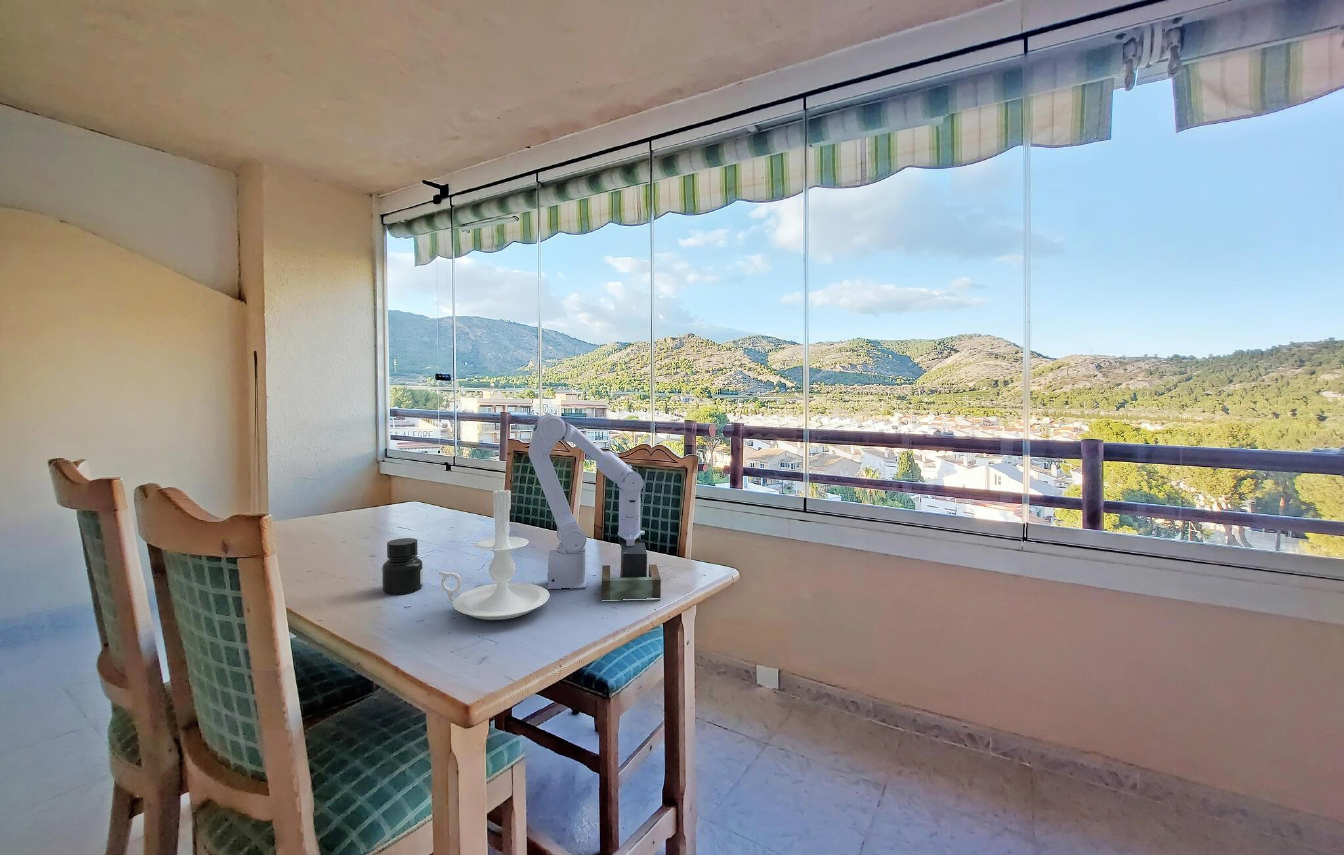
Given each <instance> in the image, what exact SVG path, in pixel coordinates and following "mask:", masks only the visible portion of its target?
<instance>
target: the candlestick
mask: <svg viewBox="0 0 1344 855" xmlns="http://www.w3.org/2000/svg"><path fill="white" fill-rule="evenodd" d="M511 496H512V493H511V490H510V489H505V490H502V489H501V487H499V490H495V491H492V500H493V501H492V502H493V503H492V508H493V518H492V519H493V520H494V537H490V538H489V537H488V538H485V539H481V540H479V541H477V542H475V544H474V546H475V547H476V549H477V548H478V549H480V550H485V551H491V552H493V554H494V555H493V559H492V560H491V562H490V564H489V567H488V573H489V575H490V578H491V579H492V581H494V583H490V584H485V585H481V586H478V587H475V588H470V589H468V590H467V591H466V590H465V591H464V592H462V593H461V594H459V595H457V596H456V597H454V594H455V593H457V592H459V591H460V589H461V588H462V586H463V580H462V578H461V576H460V575H459V573H457V572H447V571H444V570H443V571H442V570H440V571H439V572H438V574H440V575H441V576H442V578H441V582H440V584H441V587H442V589H443V591H445V593H446V594H447V596H448V600H449V601H451V602H452V606H453V608H454V609H455V610H456V611H457V612H459V613H462V614H464V615H468V616H470V617H473V618H474V619H475V618H476V619H480V620H488V621H498V620H499V621H500V620H509V619H514V618H517V617H521V616H523V615H526V614H528V613H530V612H532V611H534V610H536V609H537V608H539V607H541V606H543V605H544V604H546V603H547V601H549V599H550V592H549V591H548V590H547V589H546V588H544V587H543V586H540V585H538V584H534V583H527V582H510V581H511V580H512V578H513V577H514V575H515V572H516V570H517V569H516V568H517V567H516V563H515V561H514V560H513V558H512V556H511V553H512V551H513V550H515V549H520V548H522V547H525V546H527V545H528V544H529V542H530V541H529V540H528V539H527V538H525V537H520V536H510V532H511V530H510V510H511V507H512V506H511V505H512V503H511V502H512V500H511ZM449 577H453V578H455V579H456V581H457V587H455V589H452V588H449V587H448V586H447V585H446V580H447V578H449Z"/></svg>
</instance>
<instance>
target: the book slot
mask: <svg viewBox="0 0 1344 855" xmlns="http://www.w3.org/2000/svg"><path fill="white" fill-rule="evenodd" d="M601 566H602V568H601V601H602V600H623V599H647V598H661V595H662V594H661V591H662V590H661V589H662V588H661V587H662V586H661V585H662V584H661V582H662V579H661V576H660V570H659V567H658V565H657V564H648V576H647V577H630V578H620V577H611V565H609V564H608V565H607V564H606V565H601Z"/></svg>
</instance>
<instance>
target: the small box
mask: <svg viewBox="0 0 1344 855" xmlns="http://www.w3.org/2000/svg"><path fill="white" fill-rule="evenodd" d="M626 544H627V542H622V543H621V546H620V576H619V578H630V577H648V552H647V548H646V544H645V542H640V543H635V545H634V546H627V545H626Z"/></svg>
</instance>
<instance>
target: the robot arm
mask: <svg viewBox="0 0 1344 855" xmlns="http://www.w3.org/2000/svg"><path fill="white" fill-rule="evenodd" d="M560 440H561V441H563V442H568V443H571V444H573V445H574V446H575V447H578V448H579V449H580V450H581V451H582V452H584V453H585V454H587V455H588V456H589V457H590V458H591V459H593V460H595V467H596V469H597V470H598V471H600V473H602V474H603V475H604V476H606V478H608V480H610V481H612V482H613V483H615V484H616V485H617V487H618V488H619V492H618V493H619V496H618V497H619V498H618V531H617V535H618V536H619V537H620V538H618V544H619V546H620V547H621V543H622V542H627V544H626V545H627V546H634V545H635V543H641V538H640V536H644V535H645V530H641V499H642V498H641V491H642V490H643V487H644V485H645V482H644V481H643V478H642V475H640V473H638V472H636V471H634V470H633V469H632V468H633V466H632V465H631V464H627V463H625V462H624V461H623V460H622V459H621V458H619V456H620V454H618V453H617V452H616V451H614V452H612V450H607V451H604V450H602V449H601V448H600V447H599V446H597V444H595V443H594V442H593V441H592V440H591V439H589V437H587V435H585V434H584V433H583V432H582V431H581V430H579V428H576V427H575V426H574V425H572V424H571V423H569V422H567V421H564V419H563V418H562V417H560V416H558V415H554V414H550V413H549V414H548V413H547V414H543V415H541V416H540V418H538V419H537V421H536V423H535V424H534V425H533V427H532V434H531V439H530V443H529V447H528V452H527V453H528V457H529V460H530V462H531V464H532V467H533V469H534V471H535V474H536V477H537V479H538V482H539V484H540V486H541V489H542V491H543V494H544V496H545V498H546V499H545V500H546V501H547V503H548V506H549V508H550V511H551V513H552V516H553V518H554V519H553V520H554V521H555V524H556V537H557V538H558V541H559V542H560V543H559V544H558V546H556V549H552V550H551V549H550V550H549V551H548V558H547V560H548V561H547V589H548V590H552V589H553V590H558V589H561V588H570V589H586V588H587V584H588V577H587V575H586V547H585V546H586V544H587V535H586V532H585V531H584V530H583V529H582V528H581V527H580V525H579V524H578V522H577V520H576V519H575V516H574V515H573V512H572V510H571V507H570V505H569V502H568V500H567V497H566V495H565V492H564V490H563V487H562V485H561V483H560V480H559V477H558V475H557V473H556V470H555V467H554V465H553V462H552V460H551V457H550V455H551V453H552V451H553V450H554V447H555V445H556V444H557V443H558V442H559V441H560ZM586 583H587V584H586ZM585 587H586V588H585ZM561 590H562V589H561Z"/></svg>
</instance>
